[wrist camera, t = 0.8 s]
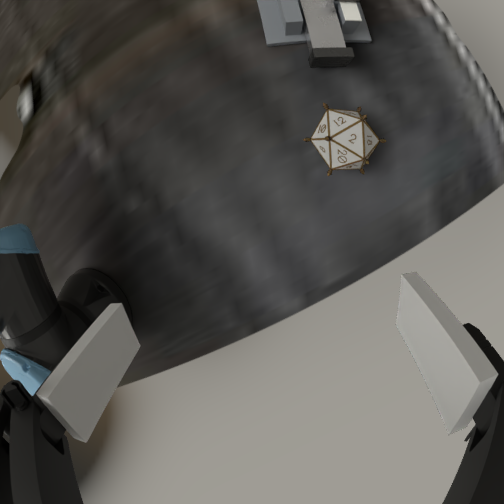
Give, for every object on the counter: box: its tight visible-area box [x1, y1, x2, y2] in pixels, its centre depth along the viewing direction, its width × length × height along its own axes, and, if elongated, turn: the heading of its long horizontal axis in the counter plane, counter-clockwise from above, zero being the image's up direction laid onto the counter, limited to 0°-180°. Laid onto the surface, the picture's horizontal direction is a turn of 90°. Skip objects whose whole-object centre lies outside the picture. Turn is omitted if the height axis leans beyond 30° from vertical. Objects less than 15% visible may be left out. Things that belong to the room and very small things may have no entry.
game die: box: [303, 103, 386, 176], centre depth 29 cm, size 9×8×10 cm
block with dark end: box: [299, 0, 360, 68], centre depth 23 cm, size 7×9×5 cm
